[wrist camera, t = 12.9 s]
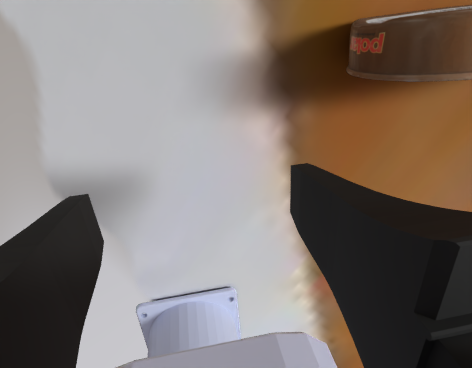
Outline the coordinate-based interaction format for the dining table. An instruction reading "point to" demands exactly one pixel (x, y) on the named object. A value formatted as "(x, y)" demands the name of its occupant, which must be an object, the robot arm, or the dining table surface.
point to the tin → (413, 46)
